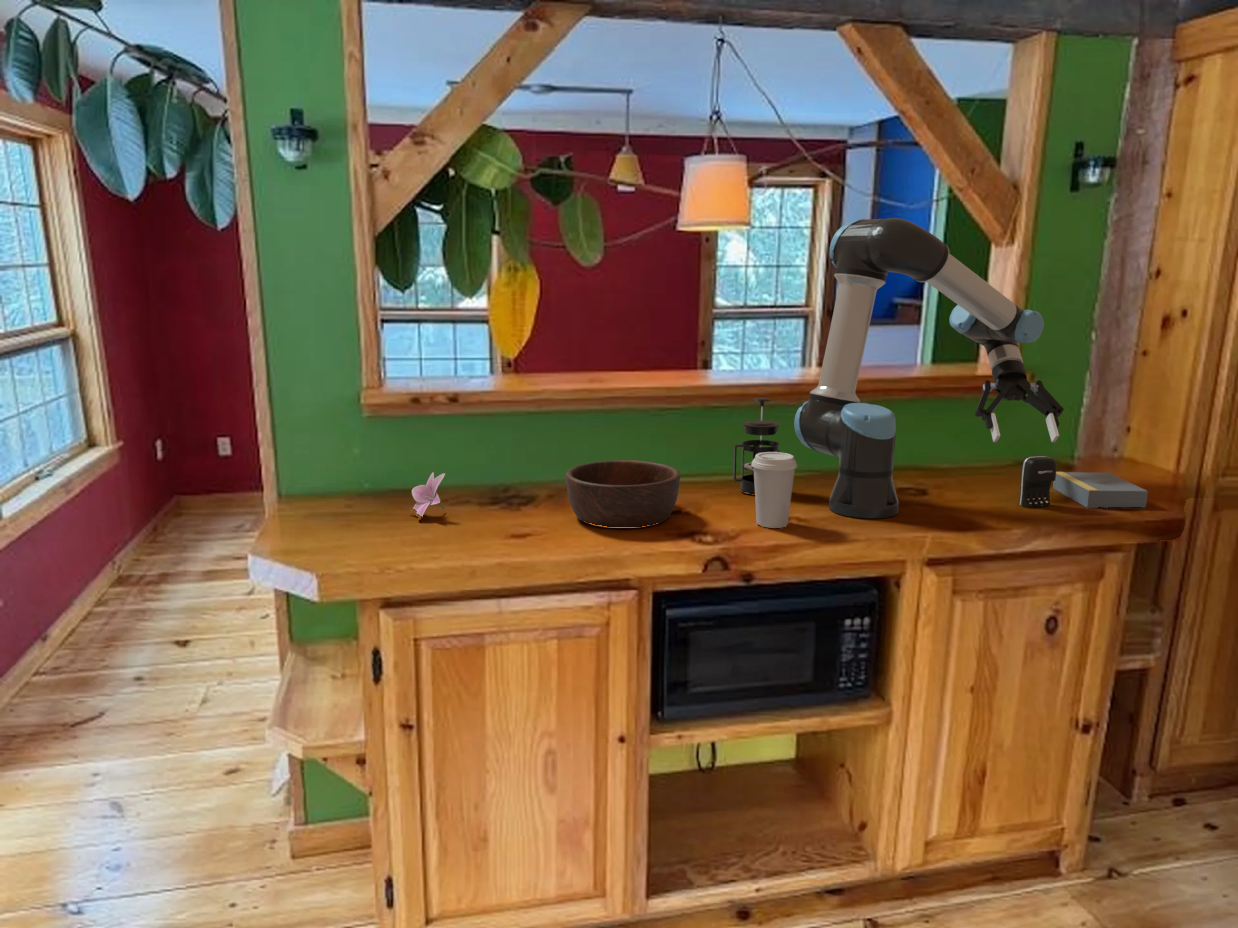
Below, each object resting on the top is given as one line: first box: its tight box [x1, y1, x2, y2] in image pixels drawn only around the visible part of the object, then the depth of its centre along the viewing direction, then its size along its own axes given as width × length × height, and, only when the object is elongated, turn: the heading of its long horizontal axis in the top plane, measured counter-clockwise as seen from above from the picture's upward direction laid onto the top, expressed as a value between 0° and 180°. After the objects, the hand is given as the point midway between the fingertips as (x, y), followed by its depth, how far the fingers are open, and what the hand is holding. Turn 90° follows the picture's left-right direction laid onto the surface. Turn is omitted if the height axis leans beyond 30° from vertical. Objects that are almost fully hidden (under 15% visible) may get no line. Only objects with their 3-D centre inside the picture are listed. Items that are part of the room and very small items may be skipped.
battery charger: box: [1018, 455, 1057, 508], centre depth 203 cm, size 7×4×11 cm, turn 101°
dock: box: [1052, 471, 1149, 509], centre depth 211 cm, size 13×18×4 cm
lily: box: [411, 471, 446, 517], centre depth 198 cm, size 12×12×10 cm
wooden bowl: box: [565, 459, 681, 527], centre depth 196 cm, size 25×25×10 cm
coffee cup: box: [751, 451, 798, 529], centre depth 189 cm, size 10×10×15 cm
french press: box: [732, 397, 781, 494], centre depth 216 cm, size 12×9×23 cm
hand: (1026, 439), depth 211 cm, fingers open, 13 cm apart
